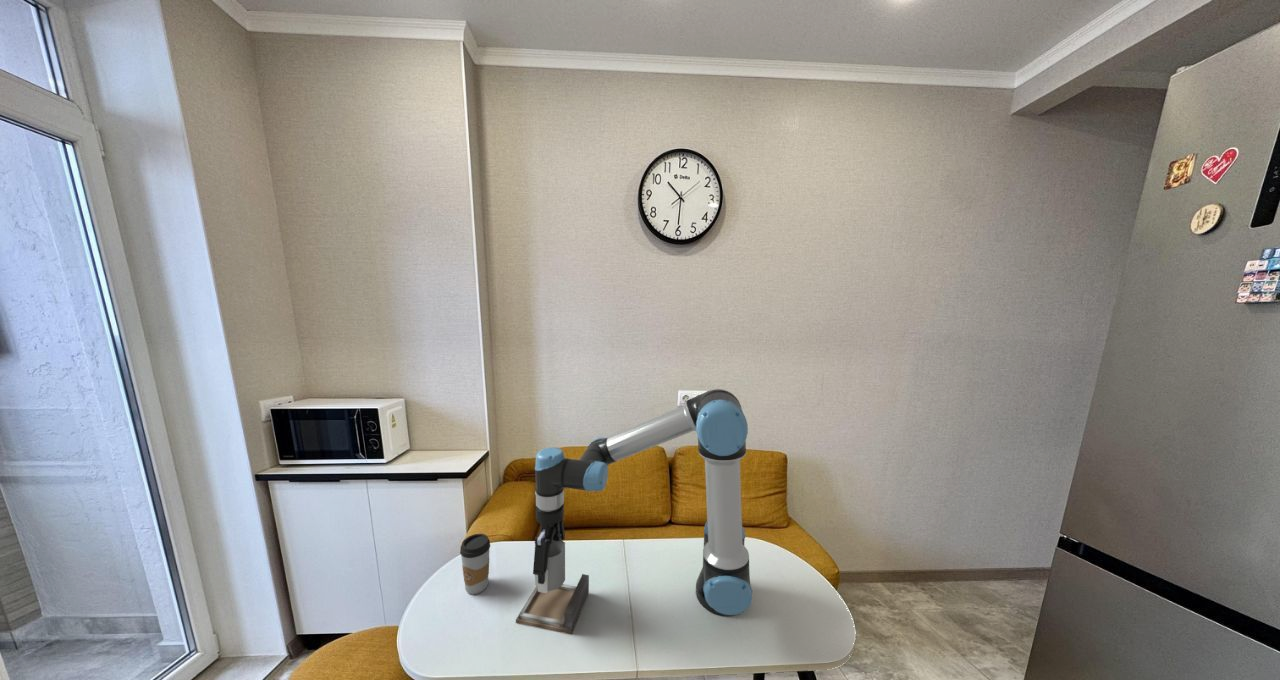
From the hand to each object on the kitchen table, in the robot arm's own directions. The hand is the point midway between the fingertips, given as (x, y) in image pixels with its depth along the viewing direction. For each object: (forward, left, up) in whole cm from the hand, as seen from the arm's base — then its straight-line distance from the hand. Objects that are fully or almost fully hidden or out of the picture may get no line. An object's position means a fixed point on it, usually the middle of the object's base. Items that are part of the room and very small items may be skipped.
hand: (550, 578), depth 107 cm
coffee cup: (+25, -2, -9) cm, 27 cm away
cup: (0, 0, 0) cm, 0 cm away
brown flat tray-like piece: (-1, 0, -9) cm, 9 cm away
